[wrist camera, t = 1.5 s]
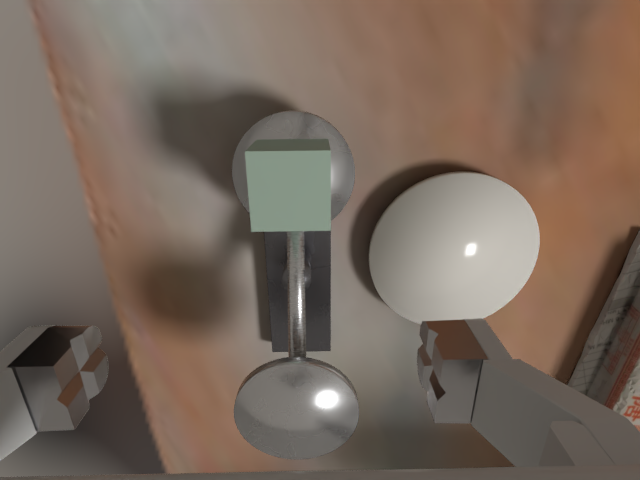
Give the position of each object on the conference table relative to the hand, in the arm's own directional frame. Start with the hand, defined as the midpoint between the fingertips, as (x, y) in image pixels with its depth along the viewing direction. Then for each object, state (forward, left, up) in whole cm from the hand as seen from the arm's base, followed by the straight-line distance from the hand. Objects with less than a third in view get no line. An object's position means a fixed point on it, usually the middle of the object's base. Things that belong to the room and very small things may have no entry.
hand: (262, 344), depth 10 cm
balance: (+7, 0, -21) cm, 22 cm away
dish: (+7, +12, -21) cm, 25 cm away
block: (0, 0, -17) cm, 17 cm away
